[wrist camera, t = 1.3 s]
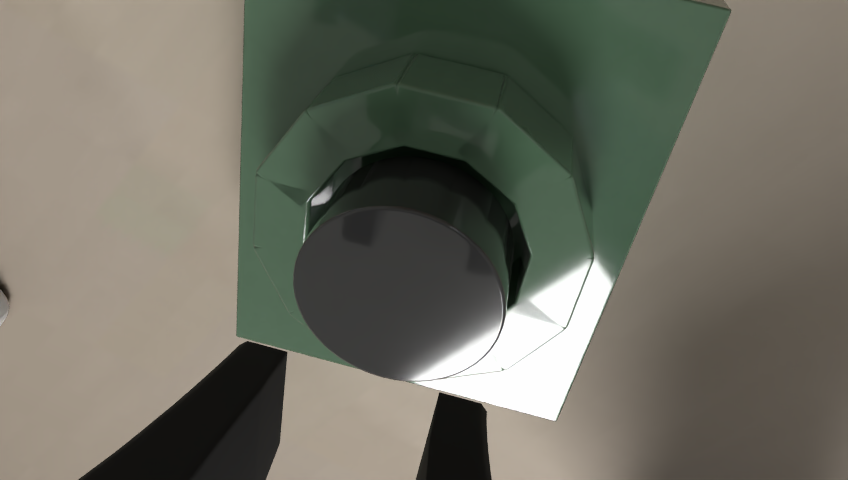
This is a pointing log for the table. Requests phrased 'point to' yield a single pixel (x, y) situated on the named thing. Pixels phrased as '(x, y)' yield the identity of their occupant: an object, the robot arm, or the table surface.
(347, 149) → the green button base
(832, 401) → the table surface
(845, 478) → the table surface
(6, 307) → the eye dropper bottle
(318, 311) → the black push button
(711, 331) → the table surface
